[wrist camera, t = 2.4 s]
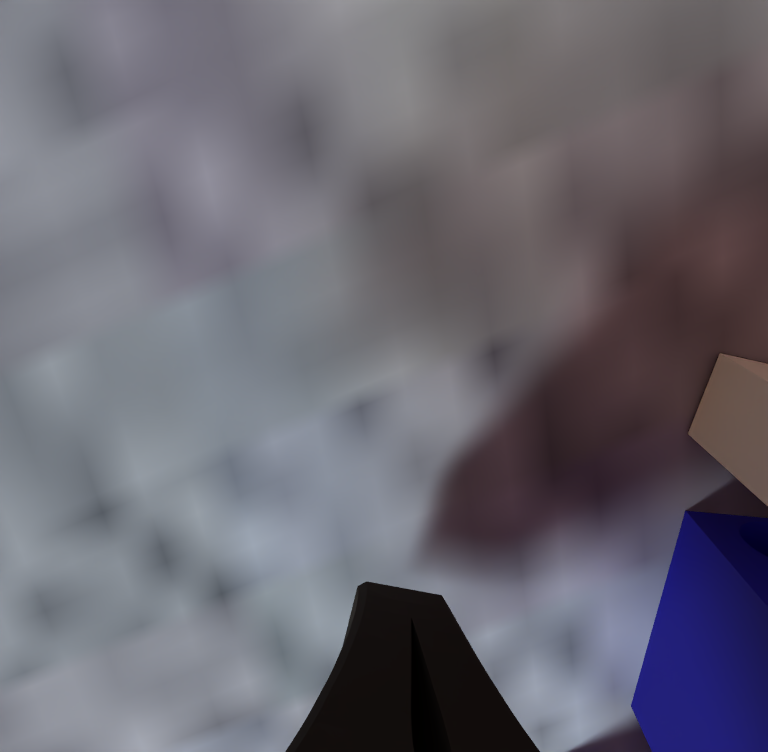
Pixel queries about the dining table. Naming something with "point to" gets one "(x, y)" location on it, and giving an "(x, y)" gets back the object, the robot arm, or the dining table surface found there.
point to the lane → (736, 421)
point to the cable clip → (710, 641)
